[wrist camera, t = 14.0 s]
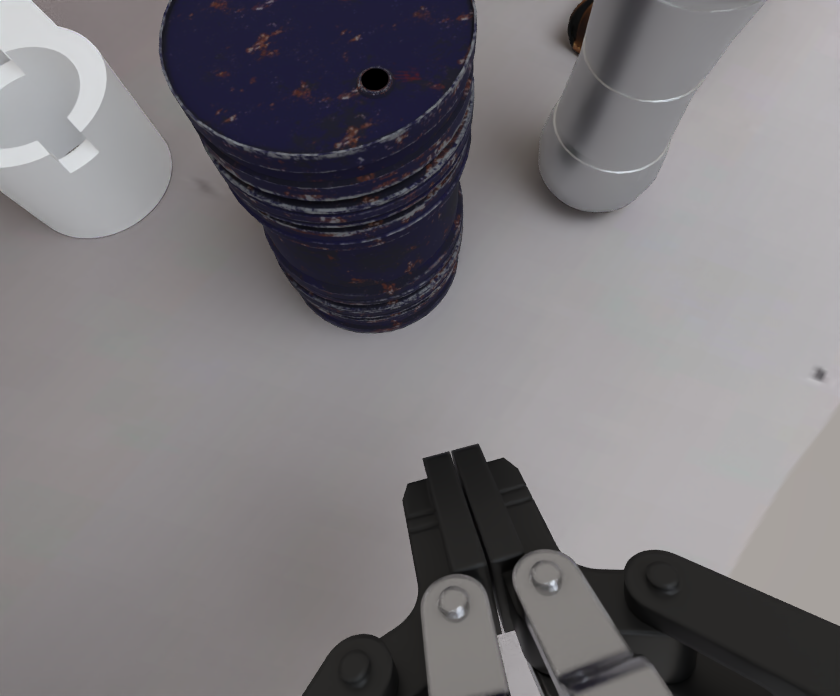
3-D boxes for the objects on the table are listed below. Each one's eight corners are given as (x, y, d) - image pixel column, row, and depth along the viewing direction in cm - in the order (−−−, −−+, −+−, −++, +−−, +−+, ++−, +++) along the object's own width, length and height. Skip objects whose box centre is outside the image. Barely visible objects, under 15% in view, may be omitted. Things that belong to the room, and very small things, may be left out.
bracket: (199, 174, 32) (140, 91, 26) (81, 266, 30) (-14, 201, 24) (29, 4, 37) (-57, -102, 30) (-82, 76, 35) (-198, -21, 29)
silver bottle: (580, 114, 32) (787, -454, 13) (666, 181, 31) (1043, -357, 12) (508, 177, 31) (621, -349, 12) (594, 249, 30) (882, -225, 10)
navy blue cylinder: (256, 244, 30) (96, 9, 16) (388, 152, 32) (349, -136, 18) (358, 371, 28) (276, 226, 14) (496, 264, 29) (551, 35, 15)
